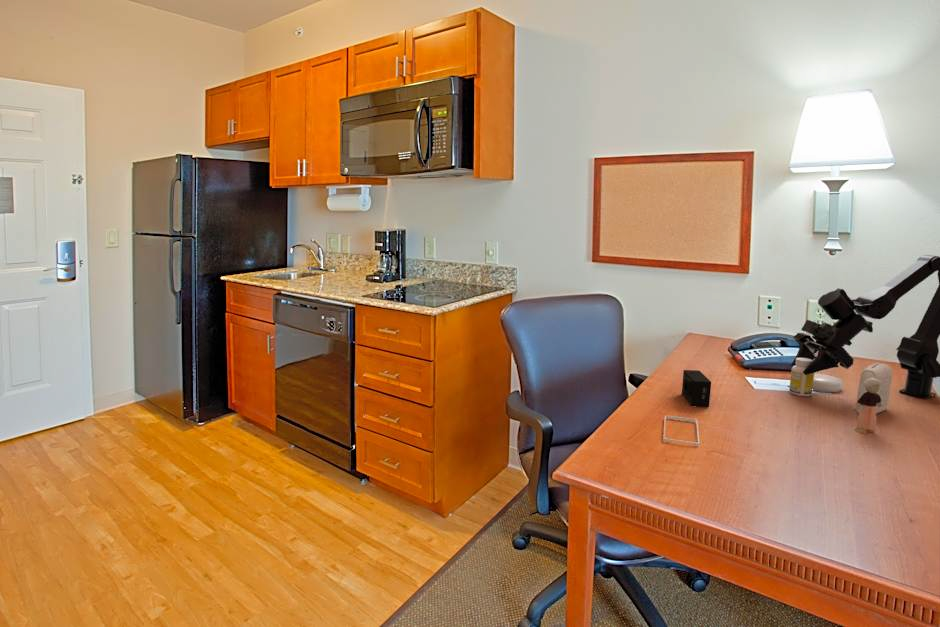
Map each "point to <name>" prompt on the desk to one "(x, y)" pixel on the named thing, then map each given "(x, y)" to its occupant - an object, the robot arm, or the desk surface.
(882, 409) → the photo printer
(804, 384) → the supplement bottle
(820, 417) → the desk surface
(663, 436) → the phone case
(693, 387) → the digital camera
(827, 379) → the plinth
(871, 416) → the grandmother figurine
